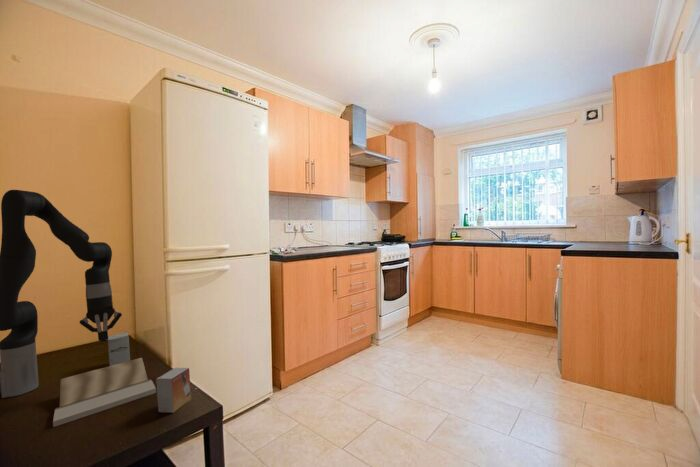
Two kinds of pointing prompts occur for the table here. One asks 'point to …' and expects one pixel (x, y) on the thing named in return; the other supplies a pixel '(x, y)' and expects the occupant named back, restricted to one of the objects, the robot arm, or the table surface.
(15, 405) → the table surface
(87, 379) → the oak plank
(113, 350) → the supplement box
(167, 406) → the small box
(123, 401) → the grey board
